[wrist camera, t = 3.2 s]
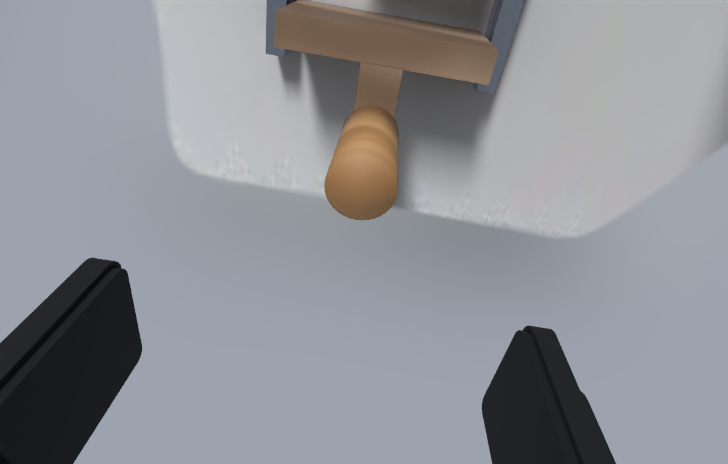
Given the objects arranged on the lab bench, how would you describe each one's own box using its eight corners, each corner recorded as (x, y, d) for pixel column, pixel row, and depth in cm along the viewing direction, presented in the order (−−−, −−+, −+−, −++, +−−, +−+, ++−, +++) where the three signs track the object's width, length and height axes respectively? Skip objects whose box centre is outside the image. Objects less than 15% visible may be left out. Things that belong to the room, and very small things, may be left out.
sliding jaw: (450, 137, 27) (477, 240, 17) (293, 109, 26) (232, 198, 17) (479, 31, 23) (534, 86, 14) (300, -1, 23) (227, 31, 13)
